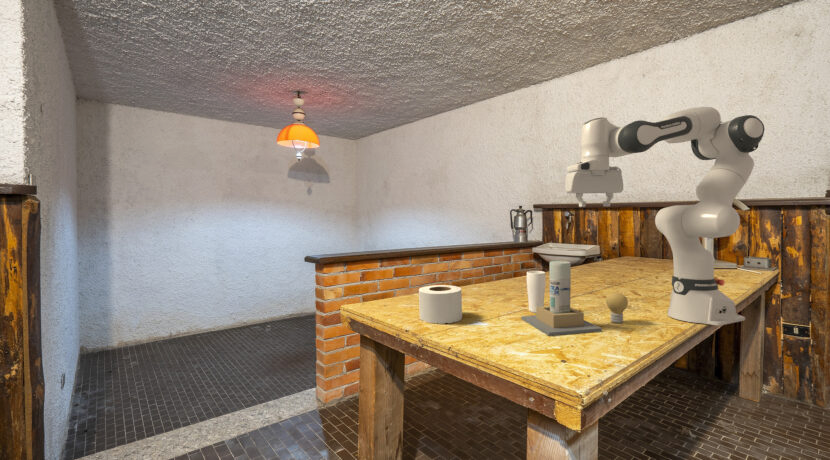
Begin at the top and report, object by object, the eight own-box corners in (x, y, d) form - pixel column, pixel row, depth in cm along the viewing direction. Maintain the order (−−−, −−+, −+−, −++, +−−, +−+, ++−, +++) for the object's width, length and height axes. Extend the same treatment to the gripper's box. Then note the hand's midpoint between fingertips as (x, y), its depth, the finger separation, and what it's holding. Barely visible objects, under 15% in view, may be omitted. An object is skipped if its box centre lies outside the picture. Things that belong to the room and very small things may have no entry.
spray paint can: (545, 320, 124) (545, 261, 123) (562, 318, 125) (562, 260, 124) (556, 325, 117) (556, 263, 116) (574, 324, 119) (575, 262, 118)
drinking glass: (549, 312, 137) (549, 272, 136) (536, 314, 134) (536, 274, 133) (535, 308, 143) (535, 270, 142) (522, 310, 140) (522, 271, 139)
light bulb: (631, 324, 120) (632, 294, 119) (612, 325, 120) (612, 295, 119) (620, 319, 126) (620, 290, 126) (602, 319, 126) (602, 291, 126)
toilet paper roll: (410, 318, 133) (410, 288, 133) (439, 309, 143) (439, 282, 143) (441, 327, 122) (440, 295, 121) (470, 317, 132) (470, 288, 132)
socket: (567, 315, 132) (567, 301, 132) (601, 331, 114) (601, 315, 114) (521, 319, 129) (521, 305, 128) (549, 335, 111) (549, 319, 111)
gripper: (614, 167, 131) (614, 206, 131) (562, 167, 127) (562, 207, 128) (628, 165, 125) (627, 205, 125) (573, 164, 121) (573, 206, 121)
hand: (594, 206), depth 126 cm, fingers open, 8 cm apart
